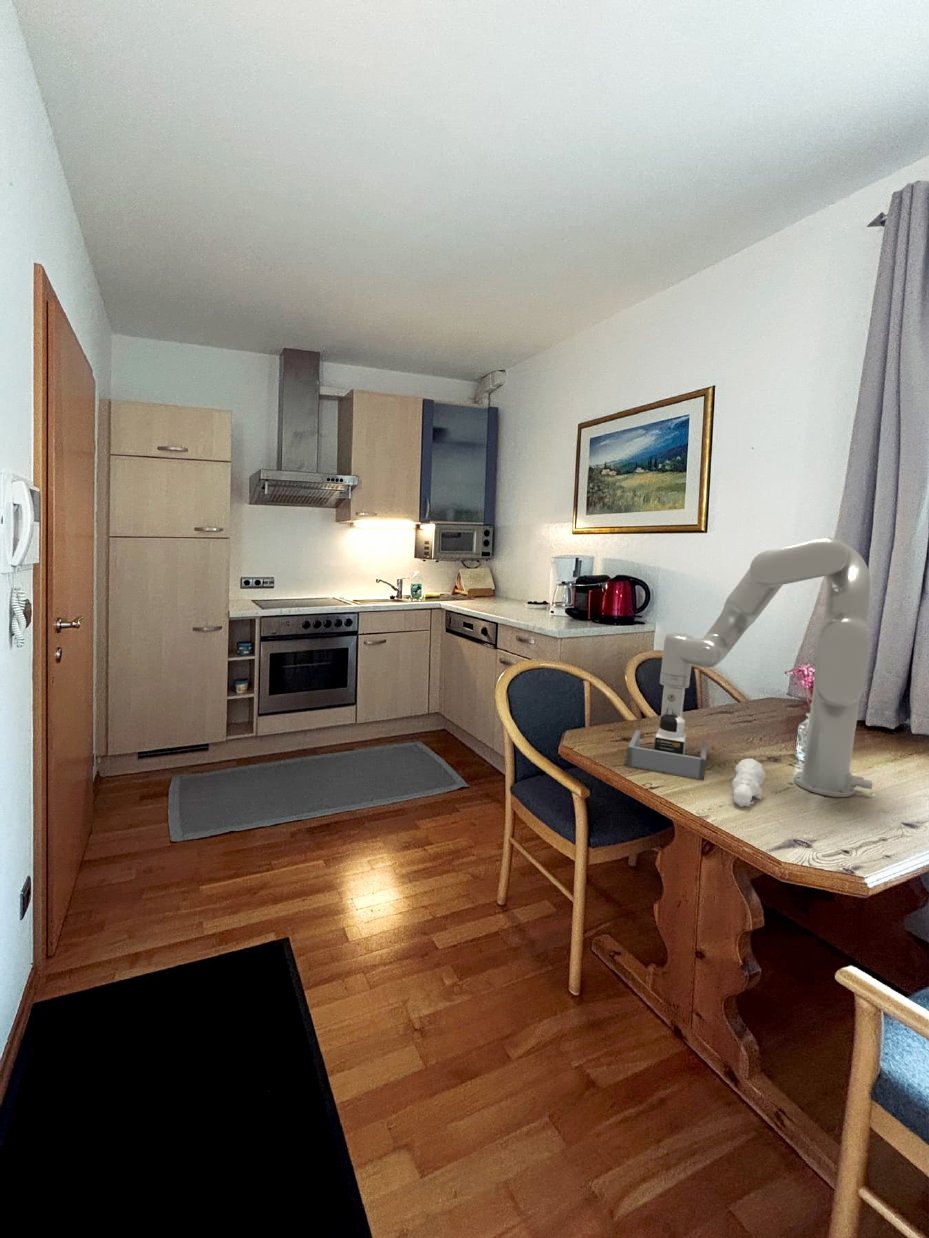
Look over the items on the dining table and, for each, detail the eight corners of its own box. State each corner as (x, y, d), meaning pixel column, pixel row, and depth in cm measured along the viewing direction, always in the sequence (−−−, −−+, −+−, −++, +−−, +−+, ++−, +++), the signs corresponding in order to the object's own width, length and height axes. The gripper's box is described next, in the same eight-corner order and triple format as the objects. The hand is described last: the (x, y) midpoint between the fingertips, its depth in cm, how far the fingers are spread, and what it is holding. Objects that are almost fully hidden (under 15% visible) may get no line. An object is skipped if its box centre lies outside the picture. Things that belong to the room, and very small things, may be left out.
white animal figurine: (767, 759, 138) (759, 780, 128) (764, 793, 140) (755, 816, 130) (738, 752, 141) (727, 772, 131) (734, 786, 143) (724, 808, 133)
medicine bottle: (652, 762, 157) (656, 717, 155) (656, 753, 163) (660, 710, 161) (681, 767, 154) (686, 722, 152) (684, 758, 160) (688, 715, 158)
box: (705, 759, 160) (707, 741, 160) (703, 779, 146) (705, 760, 146) (634, 747, 167) (635, 729, 167) (626, 765, 153) (628, 746, 153)
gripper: (687, 687, 154) (679, 756, 156) (691, 675, 167) (683, 739, 170) (657, 683, 156) (649, 750, 159) (663, 671, 170) (655, 734, 173)
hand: (667, 744), depth 165 cm, fingers closed
